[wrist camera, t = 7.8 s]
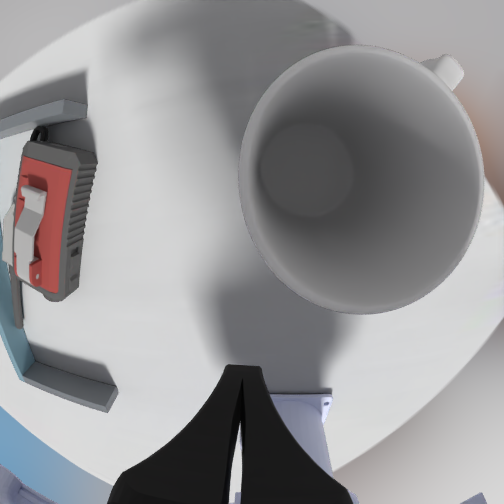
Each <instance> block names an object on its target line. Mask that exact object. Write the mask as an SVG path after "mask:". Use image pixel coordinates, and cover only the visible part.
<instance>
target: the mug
mask: <svg viewBox="0 0 504 504" xmlns="http://www.w3.org/2000/svg"><path fill="white" fill-rule="evenodd" d="M463 76H464V71H463V69H462V68H461V66H460V65H459V63H458V62H457V61H456V60H455V59H454V58H453V57H452V56H450V55H448V54H444V55H442V56H441V57H439V58H436V59H429V60H426V61H423V62H420V63H419V62H417V61H415V60H413V59H412V58H410V57H407V56H405V55H403V54H401V53H398V52H395V51H392V50H389V49H385V48H381V47H376V46H368V45H346V46H338V47H333V48H329V49H325V50H322V51H319V52H316V53H314V54H312V55H309V56H307V57H305V58H303V59H302V60H300V61H298V62H297V63H295V64H294V65H292V66H291V67H289V68H288V69H287V70H286V71H284V72H283V73H282V74H281V75H280V76H279V77H278V78H277V79H276V80H275V81H274V82H273V83H272V84H271V85H270V86H269V88H268V89H267V90H266V91H265V93H264V94H263V96H262V97H261V99H260V100H259V102H258V103H257V105H256V107H255V109H254V111H253V113H252V115H251V117H250V119H249V122H248V124H247V127H246V130H245V133H244V137H243V141H242V145H241V151H240V157H239V170H238V181H239V194H240V201H241V206H242V211H243V215H244V218H245V222H246V225H247V228H248V230H249V233H250V235H251V238H252V240H253V242H254V244H255V246H256V248H257V250H258V252H259V253H260V255H261V257H262V258H263V260H264V261H265V263H266V264H267V265H268V267H269V268H270V269H271V270H272V272H273V273H274V274H275V275H276V276H277V277H278V278H279V280H281V281H282V282H283V283H284V284H285V285H286V286H287V287H288V288H289V289H290V290H292V291H293V292H294V293H296V294H297V295H299V296H300V297H302V298H304V299H306V300H307V301H309V302H311V303H313V304H316V305H318V306H321V307H323V308H326V309H329V310H333V311H337V312H342V313H348V314H377V313H383V312H388V311H392V310H395V309H399V308H401V307H404V306H406V305H409V304H411V303H413V302H415V301H417V300H419V299H420V298H422V297H424V296H425V295H427V294H428V293H430V292H431V291H432V290H434V289H435V288H436V287H437V286H439V285H440V284H441V283H442V282H443V281H444V280H445V279H446V278H447V277H448V276H449V275H450V274H451V273H452V271H453V270H454V269H455V268H456V267H457V265H458V264H459V262H460V261H461V259H462V258H463V256H464V255H465V253H466V251H467V249H468V248H469V246H470V244H471V241H472V239H473V237H474V234H475V232H476V229H477V226H478V223H479V219H480V215H481V211H482V205H483V198H484V167H483V160H482V154H481V150H480V145H479V142H478V138H477V135H476V133H475V130H474V128H473V125H472V123H471V120H470V118H469V116H468V114H467V113H466V111H465V109H464V107H463V106H462V104H461V103H460V101H459V100H458V98H457V97H456V95H455V94H454V93H453V91H452V90H453V89H454V88H455V87H456V86H457V85H458V83H459V82H460V81H461V80H462V78H463Z"/></svg>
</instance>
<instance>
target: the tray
mask: <svg viewBox="0 0 504 504" xmlns="http://www.w3.org/2000/svg"><path fill="white" fill-rule="evenodd" d="M86 115H87V105H86V104H82V103H78V102H74V101H70V100H66V99H62V100H58V101H55V102H51V103H48V104H44V105H41V106H38V107H35V108H32V109H29V110H26V111H23V112H20V113H17V114H14V115H12V116H9V117H6V118H4V119H1V120H0V139H2V138H5V137H8V136H11V135H15V134H18V133H22V132H25V131H29V130H32V129H35V128H36V127H37V126H48V125H53V124H57V123H62V122H66V121H71V120H77V119H82V118H86ZM2 251H3V240H2V232H1V224H0V335H1V337H2V340H3V342H4V345H5V347H6V350H7V352H8V355H9V357H10V359H11V362H12V364H13V366H14V368H15V371H16V373H17V375H18V377H19V379H20V380H21V381H23V382H26V383H28V384H30V385H32V386H34V387H37V388H39V389H41V390H43V391H46V392H48V393H51V394H53V395H56V396H58V397H61V398H64V399H66V400H69V401H72V402H74V403H77V404H80V405H83V406H86V407H89V408H92V409H96V410H99V411H102V412H105V413H108V412H109V410H110V408H111V406H112V404H113V403H114V401H115V399H116V397H117V395H118V390H117V387H116V386H113V385H109V384H105V383H101V382H97V381H94V380H90V379H87V378H83V377H80V376H77V375H74V374H70V373H67V372H64V371H61V370H58V369H55V368H53V367H50V366H47V365H44V364H42V363H39V362H36V361H35V359H34V357H33V354H32V351H31V349H30V346H29V343H28V341H27V338H26V335H25V332H24V329H23V328H22V329H17V328H16V326H15V320H14V312H13V303H12V293H11V283H10V278H9V274H8V269H7V264H6V262H5V261H3V260H2Z"/></svg>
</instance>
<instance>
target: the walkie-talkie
mask: <svg viewBox="0 0 504 504" xmlns="http://www.w3.org/2000/svg"><path fill="white" fill-rule="evenodd" d="M40 132H41V139H40V141H37V138H38V135H39V133H40ZM47 140H48V129H47V128H46V127H44V126H37V127H36V128H35V129H34V131H33V133H32V135H31V138H30V141H27V143H26V144H25V146H24V147H23V152H22V155H21V161H20V168H19V175H18V182H17V189H16V195H15V197H14V203H13V204H12V206H11V207H10V209H9V211H8V212H7V214H6V216H5V217H4V221H3V251H2V260H3V261H5V262H6V263H8V264H9V273H10V278H11V293H12V303H13V312H14V320H15V326H16V328H17V329H22V328H23V317H22V307H21V294H20V281H22V282H24V284H25V285H29V286H30V287H32V288H34V289H35V290H37V291H39V292H41V293H42V294H43V295H44V297H45V298H46V299H47V300H49V301H52V302H59V301H62V300H64V299H65V298H66V297H67V296H69V295H70V294H71V293H72V292H74V291H75V290H76V289H77V288H78V287H79V276H80V265H81V255H82V247H83V235H84V228H85V221H86V214H87V213H88V212H87V207H89V205H88V201H89V200H90V197H89V196H90V193H91V192H92V191H91V187H92V186H93V183H92V182H93V179H94V178H95V176H94V173H95V172H96V165H97V164H98V162H97V160H96V157H95V155H94V153H93V152H89V151H86V150H82V149H78V148H74V147H70V146H66V145H62V144H58V143H54V142H50V141H47Z"/></svg>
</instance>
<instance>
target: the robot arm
mask: <svg viewBox="0 0 504 504" xmlns="http://www.w3.org/2000/svg"><path fill="white" fill-rule="evenodd" d="M332 401H333V397H332V395H331V394H308V395H282V394H269V392H268V390H267V387H266V384H265V381H264V378H263V374H262V369H261V368H260V367H259V366H245V365H231V364H228V365H227V366H225V369H224V372H223V374H222V376H221V378H220V380H219V382H218V384H217V386H216V387H215V389H214V390H213V392H212V394H211V395H210V397H209V398H208V400H207V401H206V402H205V404H204V405H203V406H202V408H201V409H200V410H199V412H198V413H197V414H196V415H195V417H194V418H193V419H192V420H191V421H190V422H189V423H188V424H187V425H186V426H185V427H184V429H183V430H182V431H180V432H179V433H178V434H177V435H176V436H175V437H174V438H173V439H172V440H171V441H169V442H168V443H167V444H166V445H165V446H163V447H162V448H161V449H159V450H158V451H157V452H155V453H154V454H152V455H151V456H150V457H148V458H147V459H145V460H144V461H142V462H140V463H138V464H137V465H135V466H133V467H131V468H130V469H128V470H126V471H124V472H122V474H121V475H120V476H119V478H118V479H117V481H116V483H115V485H114V486H113V489H112V491H111V494H110V497H109V500H108V502H107V504H359V501H358V498H357V496H356V494H355V493H353V492H351V491H349V490H348V489H346V488H345V487H344V486H342V485H341V484H340V483H338V482H337V481H336V480H335V479H333V473H332V468H331V463H330V457H329V452H328V447H327V442H326V437H325V432H324V427H323V425H324V423H325V420H326V417H327V415H328V412H329V409H330V406H331V404H332ZM325 402H326V403H325ZM240 424H241V444H240V449H241V450H242V484H241V492H236V493H235V503H229V492H230V479H231V469H232V462H233V457H234V451H235V446H236V441H237V435H238V430H239V425H240ZM0 504H58V503H56V502H54V501H52V500H50V499H48V498H46V497H45V496H43V495H41V494H39V493H38V492H36V491H34V490H33V489H31V488H29V487H28V486H26V485H25V484H23V483H22V481H20V479H18V477H16V476H15V475H14V474H13V473H12V472H11V471H9V470H8V469H6V468H5V467H4V466H2V465H1V464H0ZM460 504H487V502H486V500H485V498H484V496H483V494H482V493H479V494H477V495H475V496H473V497H471V498H469V499H468V500H466V501H464V502H462V503H460Z"/></svg>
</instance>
